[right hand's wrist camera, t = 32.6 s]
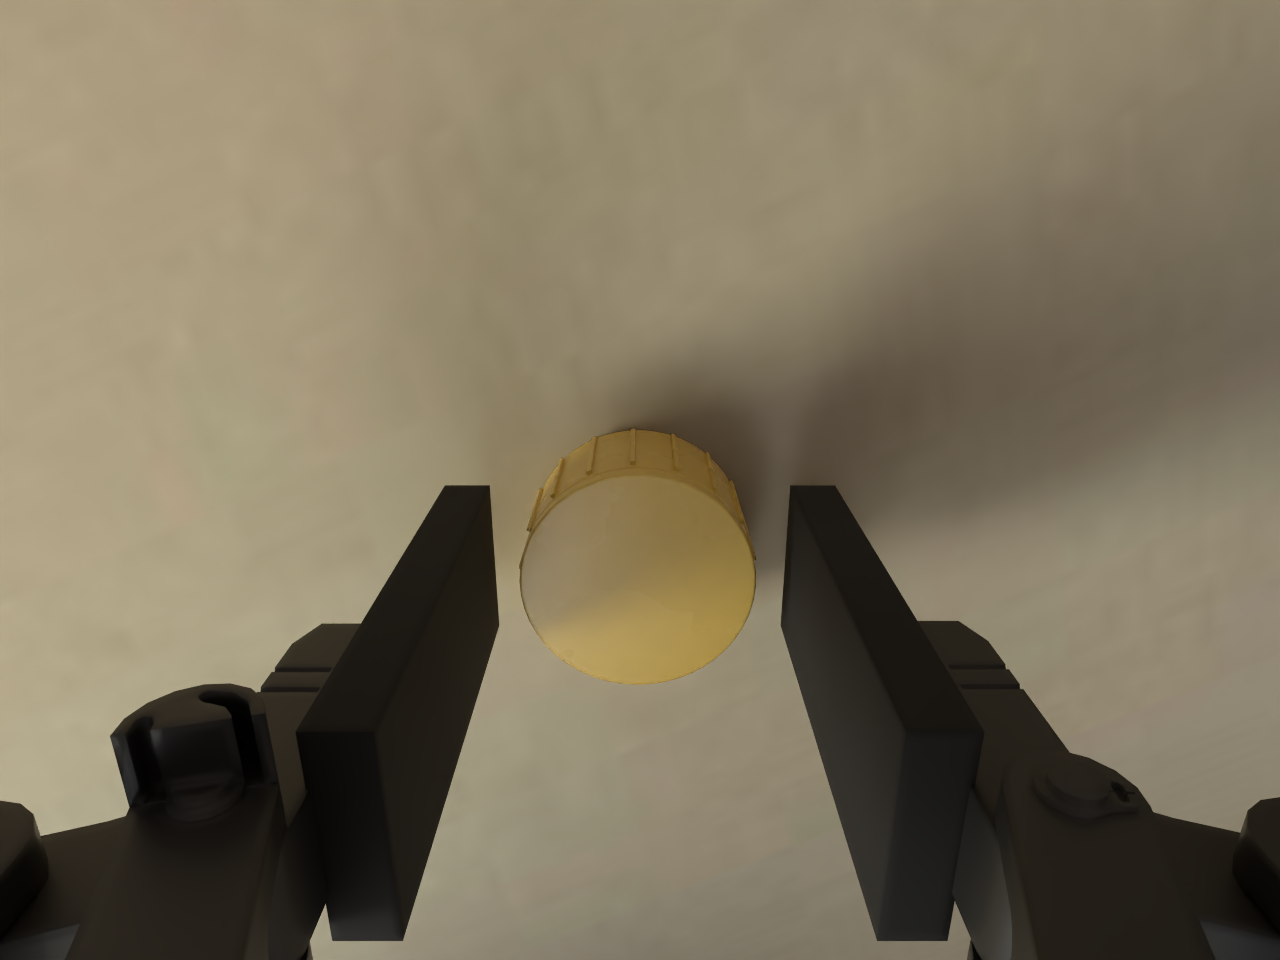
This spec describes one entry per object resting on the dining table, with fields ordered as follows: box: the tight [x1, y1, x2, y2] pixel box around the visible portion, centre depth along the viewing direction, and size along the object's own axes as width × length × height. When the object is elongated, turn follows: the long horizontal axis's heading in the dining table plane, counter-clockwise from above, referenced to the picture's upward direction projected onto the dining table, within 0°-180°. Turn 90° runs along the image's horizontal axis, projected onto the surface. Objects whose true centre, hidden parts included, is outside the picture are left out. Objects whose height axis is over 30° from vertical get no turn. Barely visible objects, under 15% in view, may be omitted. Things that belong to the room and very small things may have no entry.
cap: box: [519, 428, 756, 684], centre depth 15 cm, size 4×4×2 cm
